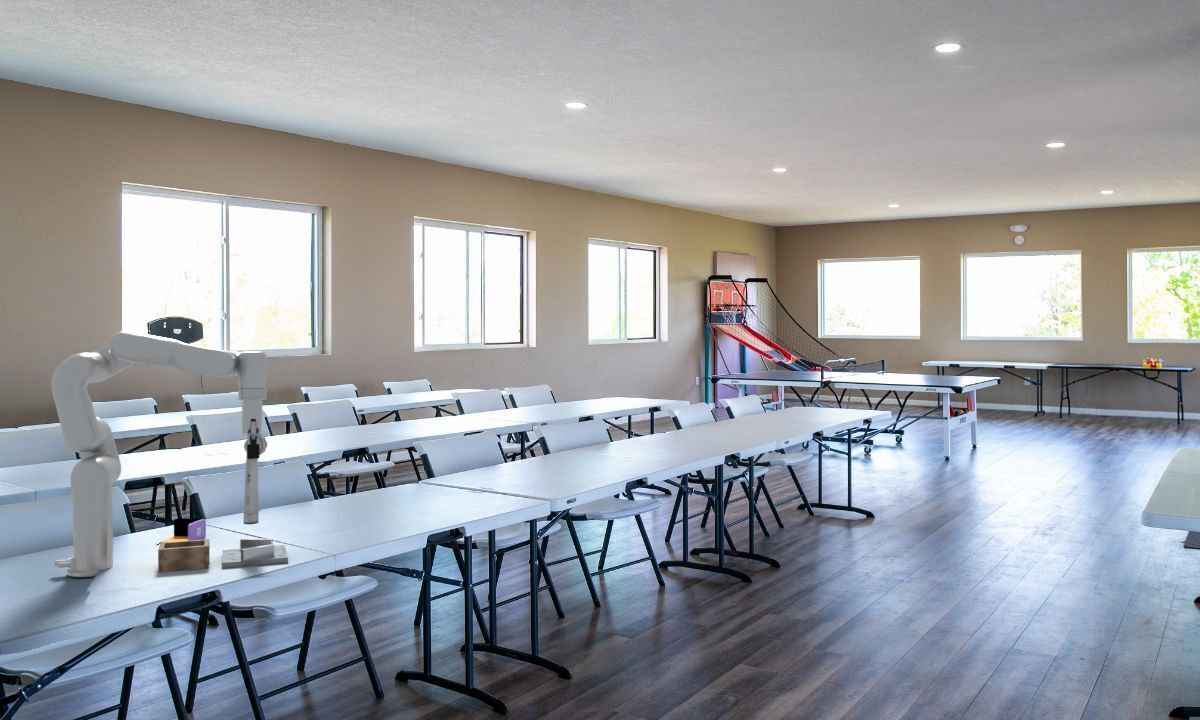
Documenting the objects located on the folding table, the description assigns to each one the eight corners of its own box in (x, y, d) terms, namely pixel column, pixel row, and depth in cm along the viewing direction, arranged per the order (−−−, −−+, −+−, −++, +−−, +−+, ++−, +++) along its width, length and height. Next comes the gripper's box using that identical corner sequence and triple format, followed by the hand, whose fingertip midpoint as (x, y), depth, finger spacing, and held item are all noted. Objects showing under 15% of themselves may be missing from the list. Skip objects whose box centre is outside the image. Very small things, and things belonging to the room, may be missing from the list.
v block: (221, 568, 245) (221, 551, 245) (222, 555, 262) (222, 539, 262) (288, 562, 252) (287, 546, 252) (284, 550, 269) (284, 535, 269)
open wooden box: (158, 572, 241) (158, 549, 241) (160, 564, 251) (160, 542, 251) (208, 568, 246) (208, 546, 246) (209, 560, 255) (209, 539, 255)
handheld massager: (238, 524, 254) (238, 435, 253) (251, 519, 261) (251, 433, 260) (255, 525, 253) (255, 436, 253) (268, 520, 260) (268, 433, 259)
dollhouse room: (210, 539, 287) (210, 517, 287) (192, 547, 275) (192, 524, 275) (173, 539, 287) (173, 517, 287) (153, 547, 275) (153, 524, 275)
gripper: (238, 393, 263) (238, 454, 263) (238, 395, 247) (239, 461, 247) (265, 393, 266) (265, 453, 266) (268, 395, 250) (268, 459, 250)
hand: (253, 456), depth 257 cm, fingers closed on handheld massager, 6 cm apart
